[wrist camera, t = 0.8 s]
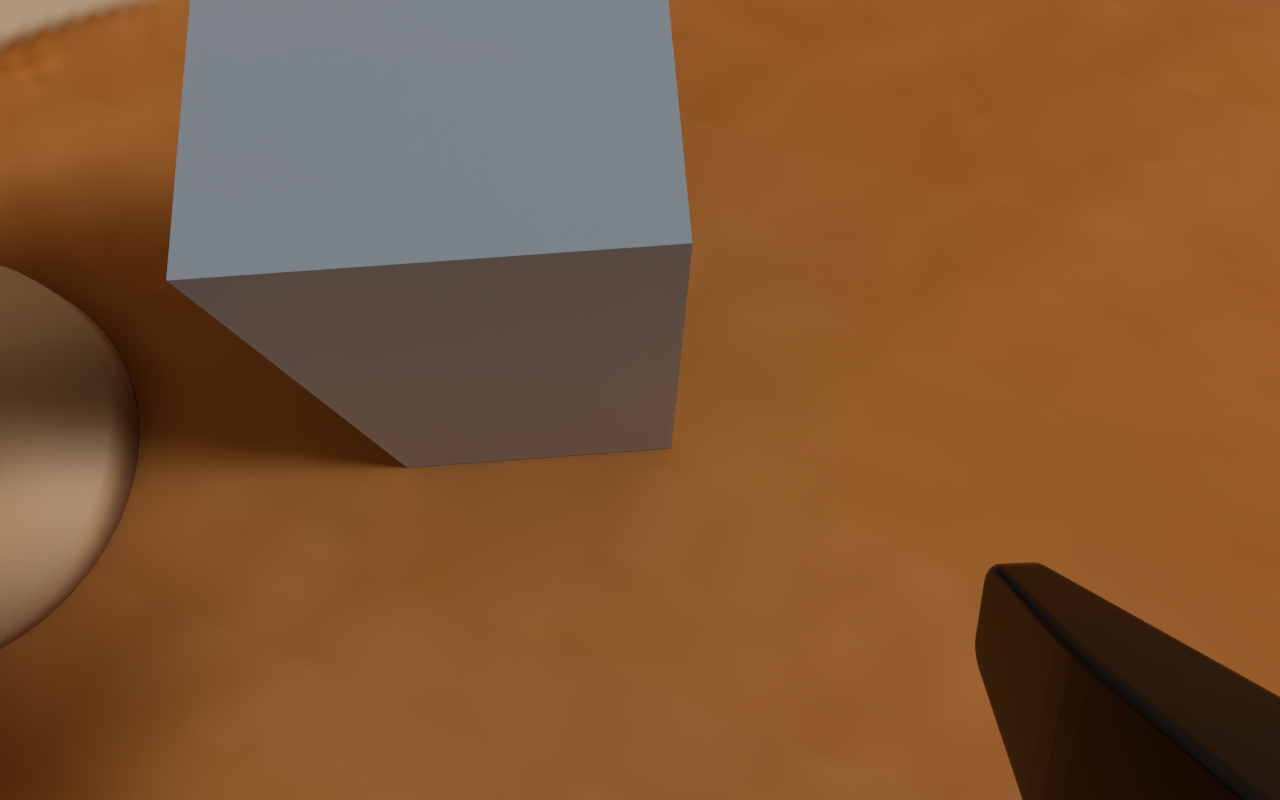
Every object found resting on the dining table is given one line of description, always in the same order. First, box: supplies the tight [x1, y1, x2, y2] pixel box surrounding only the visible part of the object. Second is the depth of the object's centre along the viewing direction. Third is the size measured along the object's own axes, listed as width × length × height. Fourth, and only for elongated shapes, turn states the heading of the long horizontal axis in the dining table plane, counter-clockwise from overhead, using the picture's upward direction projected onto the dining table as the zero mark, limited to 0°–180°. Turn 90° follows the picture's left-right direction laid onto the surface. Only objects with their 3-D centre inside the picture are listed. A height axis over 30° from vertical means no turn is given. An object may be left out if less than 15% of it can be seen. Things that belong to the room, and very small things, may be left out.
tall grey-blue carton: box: [166, 0, 692, 468], centre depth 17 cm, size 6×6×11 cm
